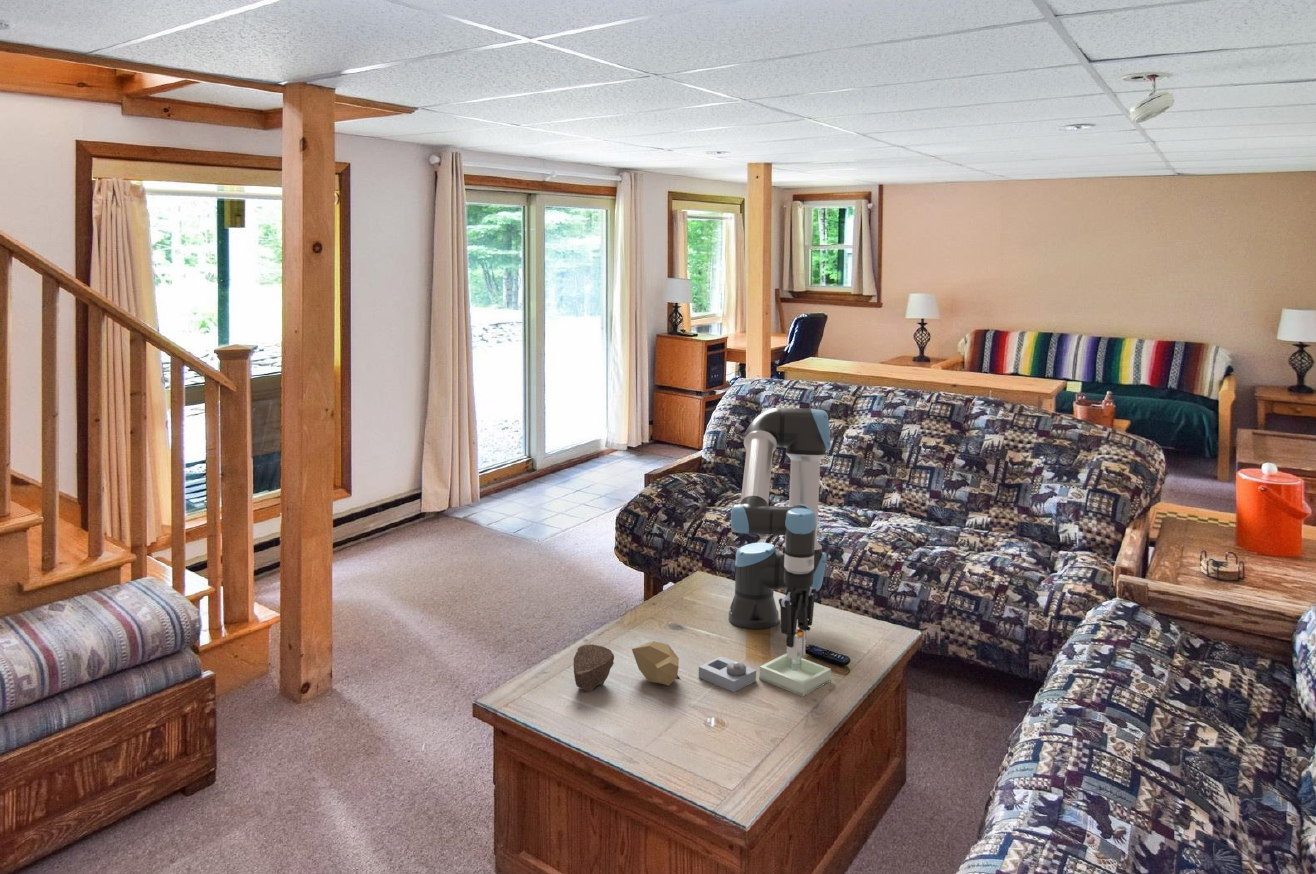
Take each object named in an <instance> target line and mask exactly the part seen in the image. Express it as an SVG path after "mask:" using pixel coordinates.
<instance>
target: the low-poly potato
mask: <svg viewBox="0 0 1316 874" xmlns="http://www.w3.org/2000/svg"><path fill="white" fill-rule="evenodd" d="M631 651H632V654H633V657H634V661H635V663H636V665H637V668H638V670H639V671H640V673H641V674H642V675H643V677H644V678H645V679H646V680H647V682H648V683H653V684H659V685H660V684H661V685H665V686H670V685H671V684H672V683H673V682H675V680H679V681H680V680H681V678H680V676H679V675H678V674H679V665H680V664H679V661H680V660H679V659H680V658H679V657H678V655H677V654H676V652H674V649H672V647H671V646H670V644H668V643H663V642H658V641H651V642H647V643H645V644H642V645H639V646H637V647H633V648H631Z"/></svg>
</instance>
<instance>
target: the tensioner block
mask: <svg viewBox="0 0 1316 874" xmlns="http://www.w3.org/2000/svg"><path fill="white" fill-rule="evenodd" d="M698 678H699V679H702V680H704V681H707V682H709V683H711V684H714V685H715V686H718V687H721V688H723V689H725V690H727V691H729V692H732V693H735V692H737V691H739V690H741V689H743V688H745V687H746V686H749V685H750V684H752V683H754V682H756V681H757V670H756V669H754V668H751V667H750V666H747V665H745V664H744V663H741V662H740V661H735V660H732V659H729V658H727V657H724V656H722V655H721V656H718V657H716V658H715V659H714V658H713V659H711V660H710V661H708V662H706V663H703V664H701V665H699V666H698Z"/></svg>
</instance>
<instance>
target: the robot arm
mask: <svg viewBox="0 0 1316 874" xmlns="http://www.w3.org/2000/svg"><path fill="white" fill-rule="evenodd" d="M830 433H831V432H830V422H829V415H828V412H827V411H825V410H823V409H819V408H794V407H793V408H791V407H789V408H787V407H786V408H785V407H773V408H770V409H767V410H765V411H763V412H762V413H760V414H758V415H757V416H756V417H755V418H754V419H753V420H752V422H750V424H749V426H747V429H746V430H745V433H744V439H743V445H744V446H743V447H744V448H745V450H746V451H745V452H746V453H745V460H744V461H745V463H744V471H743V477H742V478H743V479H742V489H741V497H740V503H738V504H737V503H736V504H733V505H732V507H731V511H730V512H731V513H730V528H731V530H732V532H734V533H737V534H738V533H740V534H746V535H749V534H751V535H754V534H755V535H756V534H757V535H772V536H773V535H775V536H785V537H784V538H785V539H784V540H785V541H784V543H782V550H781V549H780V550H779V549H776V547H775V545H774V544H772V543H768V542H760V541H759V542H751V543H747V544H745V545H742V546H740V547H739V548H738V549H737V550H736V554H735V555H736V556H735V561H734V566H735V578H734V596H733V599H732V601H731V604H730V607H729V610H728V621H729V622H730V623H731V624H732V625H734V626H737V627H739V628H744V629H749V630H751V629H752V630H762V629H768V628H769V629H770V628H772V627H774V626H776V625H777V624H778V623H779V617H780V632H781V634H783V635H786V642H785V643H786V644H785V645H786V653H787V655H786V656H787V657H789V658H792V659H797V637H798V635H796V629H800V630H802V631H803V635H802V656H804V655H806V643H807V642H806V640H807V631H808V632H809V631H811V629H812V628H811V627H810V626H812V625H813V619H814V608H815V607H814V606H815V597H816V595H817V592H818V591H819V590H820V589H821V588H822V585H823V580H824V576H825V568H826V561H827V553H826V552H825V551H822V550H823V546H822V545H821V544H820V543H819V541H818V526H819V525H818V523H819V521H818V520H819V498H820V497H819V496H820V475H821V474H820V473H821V471H820V470H821V461H822V459H824V458H825V457H826V454H827V453H826V452H827V451H828V450H830V449H831V448H832V444H831V435H830ZM777 448H785V454H786V455H787V456H788V457H789V459H790V470H789V471H790V475H789V477H790V478H789V498H788V499H789V503H788V504H789V505H788V506H777V505H776V506H775V505H769V504H770V503H769V502H770V501H769V500H770V488H771V479H772V478H771V476H772V465H773V455H774V454H773V453H774V452H775V451H776V450H777ZM774 590H786V592H785V596H784V597H783V598H781V597H780V598H779V599H778V604H779V608H780V609H779V610H780V616H779V611H778V607H777V604H776V601H775V597H774V596H775V595H774V593H775V592H774Z"/></svg>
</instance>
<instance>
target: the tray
mask: <svg viewBox="0 0 1316 874" xmlns="http://www.w3.org/2000/svg"><path fill="white" fill-rule="evenodd" d="M786 655H787V652H785V653H784V654H782V655H780V656H778V657H776V658H774V659H772V660H770V661H768V662H766V663H764V664H761V666H759V680H761V681H764V682H766V683H769V684H771V685H773V686H776V687H778V688H780V689H783V690H785V691H788V692H791V693H793V694H795V693H796V695H798V696H800V697H802V696H804V697H805V695H806V696H807V695H809V694H811V693H812V691H813V692H815V691H816V690H817V689H816V688H818V689H820V688H822V687H823V686H824V685H823V684H825V683H827V682H828V683H830V682H831V678H832V675H831V674H832V669H831V668H829V667H827V666H824V665H821V664H820V663H816V662H813V661H812V660H808V659H806V658H804V657H802V662H801V670H798V671H795V670H791V669H790V658H789V657H787V656H786ZM829 681H830V682H829ZM828 683H827V684H828ZM822 685H823V686H822ZM825 685H826V684H825ZM819 687H820V688H819ZM815 689H816V690H815ZM810 692H811V693H810ZM808 693H809V694H808Z"/></svg>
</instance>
